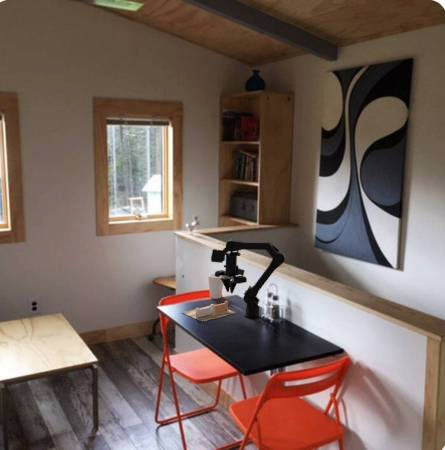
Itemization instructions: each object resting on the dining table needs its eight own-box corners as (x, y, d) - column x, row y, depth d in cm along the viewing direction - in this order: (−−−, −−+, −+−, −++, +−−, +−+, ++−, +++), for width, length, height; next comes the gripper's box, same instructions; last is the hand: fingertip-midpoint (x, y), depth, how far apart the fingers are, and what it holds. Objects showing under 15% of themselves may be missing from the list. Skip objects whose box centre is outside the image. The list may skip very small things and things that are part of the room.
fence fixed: (214, 315, 276) (215, 304, 275) (197, 319, 268) (197, 309, 267) (212, 314, 277) (212, 303, 276) (194, 318, 269) (195, 308, 268)
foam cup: (226, 296, 309) (227, 275, 307) (218, 300, 302) (218, 278, 300) (213, 293, 314) (213, 272, 312) (204, 297, 306) (205, 275, 305)
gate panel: (228, 310, 282) (228, 301, 282) (215, 313, 276) (215, 304, 275) (226, 309, 284) (226, 300, 283) (213, 312, 277) (213, 303, 277)
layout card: (236, 313, 280) (236, 312, 280) (202, 322, 264) (202, 321, 264) (214, 305, 292) (214, 304, 292) (181, 313, 277) (181, 312, 276)
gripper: (254, 265, 272) (253, 294, 274) (230, 258, 285) (228, 286, 288) (239, 267, 264) (238, 297, 267) (214, 260, 278) (213, 289, 280)
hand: (229, 292), depth 275 cm, fingers open, 3 cm apart
